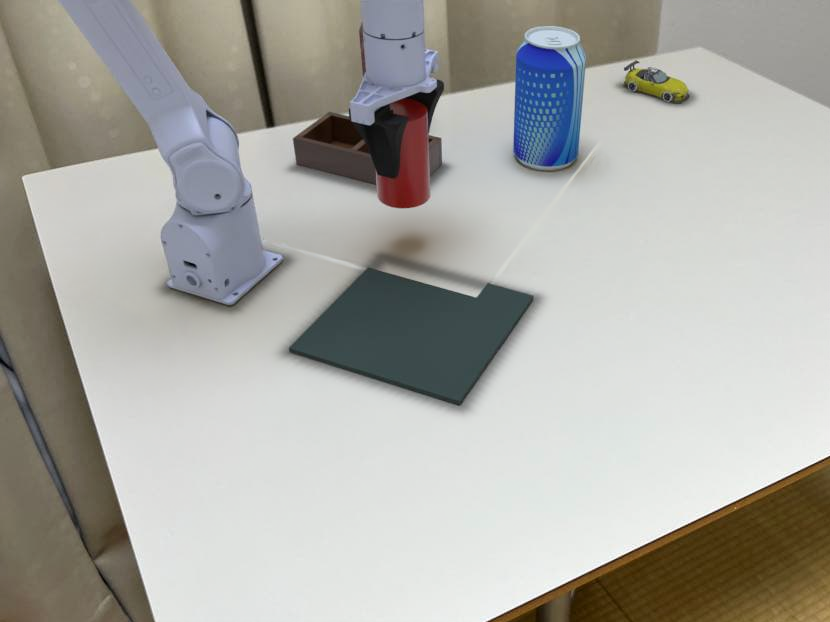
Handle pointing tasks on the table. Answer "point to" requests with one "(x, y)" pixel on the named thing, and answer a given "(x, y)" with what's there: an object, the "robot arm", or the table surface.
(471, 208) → the table surface
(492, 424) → the table surface
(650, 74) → the toy car
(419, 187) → the can
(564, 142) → the beer can
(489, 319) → the mat
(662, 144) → the table surface
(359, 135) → the holder
